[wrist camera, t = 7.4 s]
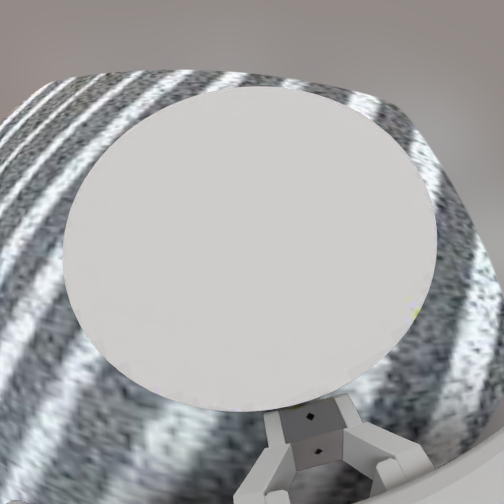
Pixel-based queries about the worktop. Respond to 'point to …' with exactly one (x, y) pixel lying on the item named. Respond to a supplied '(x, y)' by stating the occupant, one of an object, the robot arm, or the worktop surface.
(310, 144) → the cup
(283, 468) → the robot arm
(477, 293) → the worktop surface
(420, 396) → the worktop surface
